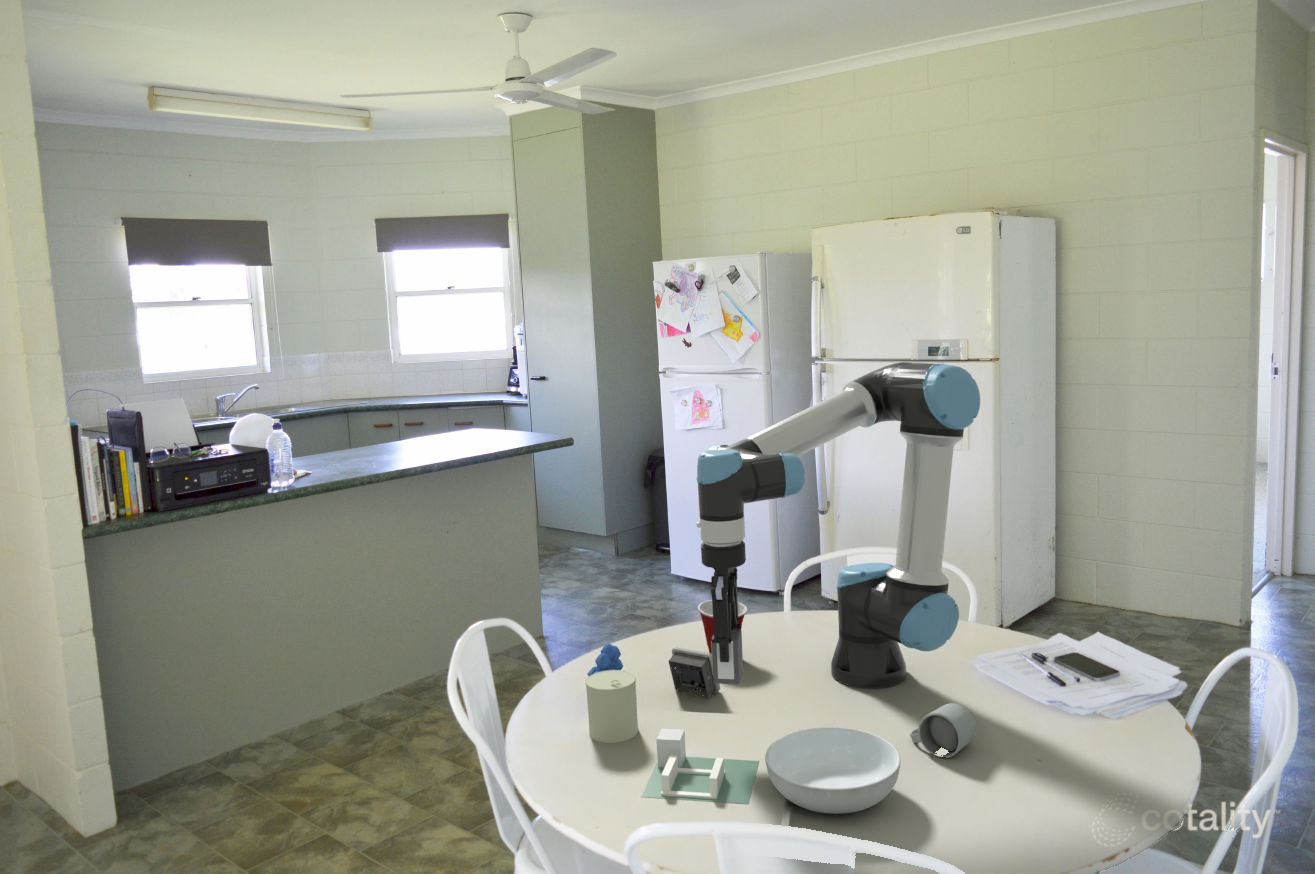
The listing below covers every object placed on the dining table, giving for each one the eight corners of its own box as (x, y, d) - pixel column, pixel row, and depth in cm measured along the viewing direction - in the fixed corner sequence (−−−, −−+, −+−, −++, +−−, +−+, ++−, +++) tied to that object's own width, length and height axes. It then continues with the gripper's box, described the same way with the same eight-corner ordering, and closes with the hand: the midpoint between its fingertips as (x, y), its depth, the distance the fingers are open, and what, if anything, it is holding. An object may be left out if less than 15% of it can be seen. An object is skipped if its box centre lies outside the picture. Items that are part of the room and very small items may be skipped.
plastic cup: (735, 671, 206) (732, 616, 204) (691, 663, 211) (688, 610, 210) (757, 653, 215) (755, 601, 213) (714, 646, 220) (712, 595, 219)
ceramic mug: (980, 745, 167) (979, 702, 166) (960, 763, 161) (959, 719, 160) (922, 730, 174) (921, 690, 173) (901, 748, 168) (900, 705, 167)
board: (759, 769, 163) (758, 743, 162) (748, 812, 149) (747, 785, 149) (660, 763, 167) (659, 738, 166) (641, 805, 153) (640, 778, 152)
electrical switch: (721, 692, 195) (717, 649, 193) (708, 704, 191) (704, 660, 189) (681, 684, 200) (677, 642, 198) (668, 695, 196) (663, 653, 194)
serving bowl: (785, 757, 167) (784, 719, 166) (910, 774, 159) (909, 734, 158) (750, 818, 148) (748, 776, 147) (889, 842, 140) (888, 797, 139)
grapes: (600, 690, 199) (596, 634, 197) (631, 693, 197) (627, 636, 195) (577, 714, 188) (573, 655, 186) (609, 717, 186) (606, 657, 184)
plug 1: (685, 757, 165) (684, 729, 164) (681, 768, 161) (679, 740, 161) (663, 755, 166) (661, 728, 165) (657, 766, 162) (656, 738, 162)
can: (601, 755, 171) (597, 691, 169) (581, 736, 179) (577, 674, 177) (648, 742, 175) (644, 679, 173) (626, 723, 183) (622, 663, 181)
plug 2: (743, 674, 169) (741, 630, 168) (739, 684, 165) (737, 639, 164) (716, 673, 171) (714, 629, 169) (711, 683, 166) (709, 638, 165)
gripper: (709, 528, 174) (715, 652, 177) (691, 554, 157) (698, 691, 160) (751, 528, 172) (756, 654, 175) (737, 555, 155) (743, 693, 158)
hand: (728, 671), depth 168 cm, fingers closed on plug 2, 4 cm apart
